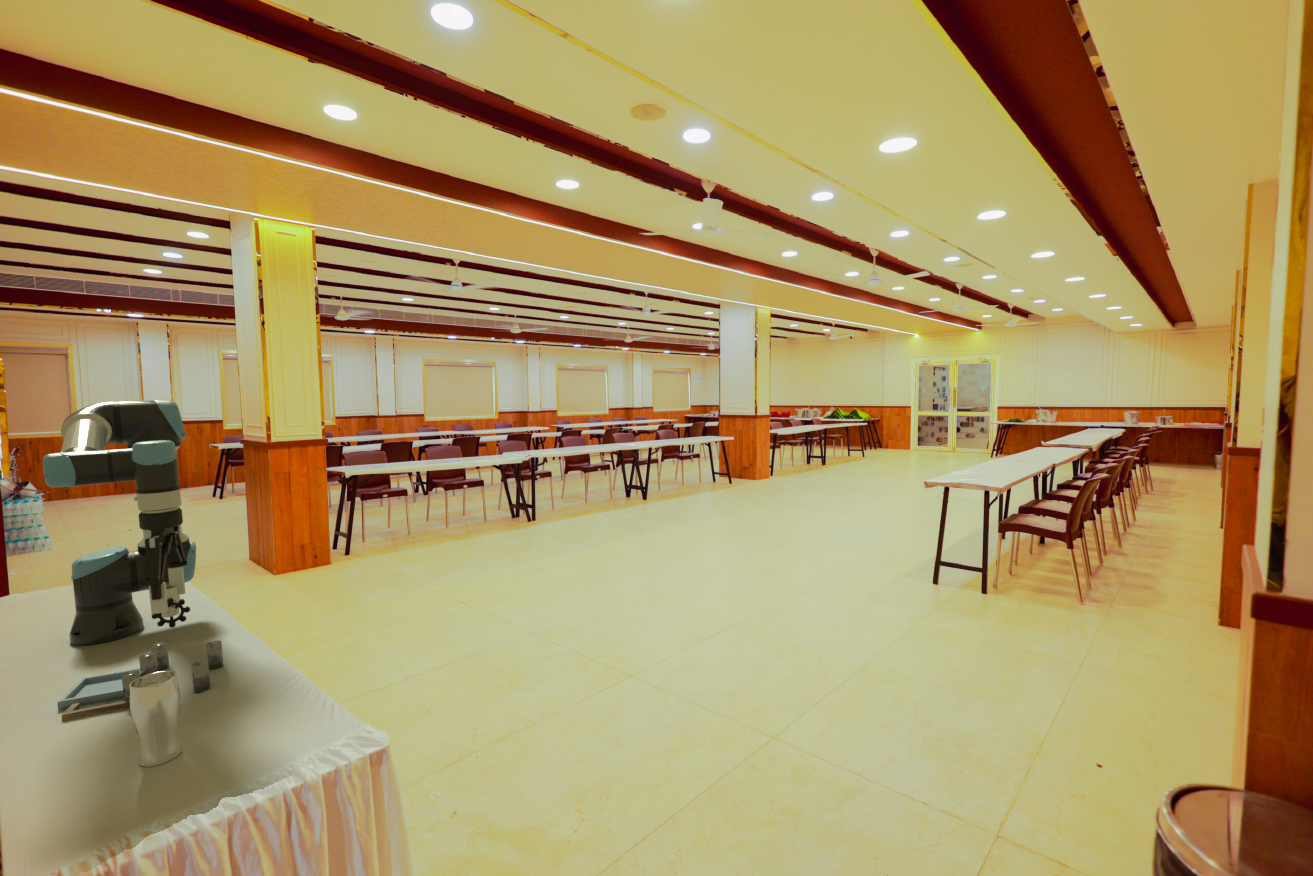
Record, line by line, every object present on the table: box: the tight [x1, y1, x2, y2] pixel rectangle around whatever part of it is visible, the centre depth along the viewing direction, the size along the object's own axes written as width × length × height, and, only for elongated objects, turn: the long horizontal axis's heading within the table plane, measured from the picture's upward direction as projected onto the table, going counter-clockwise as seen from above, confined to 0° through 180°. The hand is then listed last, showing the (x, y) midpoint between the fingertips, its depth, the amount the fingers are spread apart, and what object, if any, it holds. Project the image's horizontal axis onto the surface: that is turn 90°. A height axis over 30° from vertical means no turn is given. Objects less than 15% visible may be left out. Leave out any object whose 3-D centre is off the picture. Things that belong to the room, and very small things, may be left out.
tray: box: [57, 667, 141, 711], centre depth 134 cm, size 12×12×2 cm
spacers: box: [122, 639, 224, 701], centre depth 139 cm, size 20×16×6 cm
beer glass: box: [129, 670, 183, 768], centre depth 109 cm, size 7×7×15 cm
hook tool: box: [61, 700, 130, 721], centre depth 128 cm, size 5×14×1 cm, turn 114°
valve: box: [151, 585, 191, 628], centre depth 136 cm, size 7×7×12 cm
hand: (169, 603), depth 136 cm, fingers closed on valve, 12 cm apart
